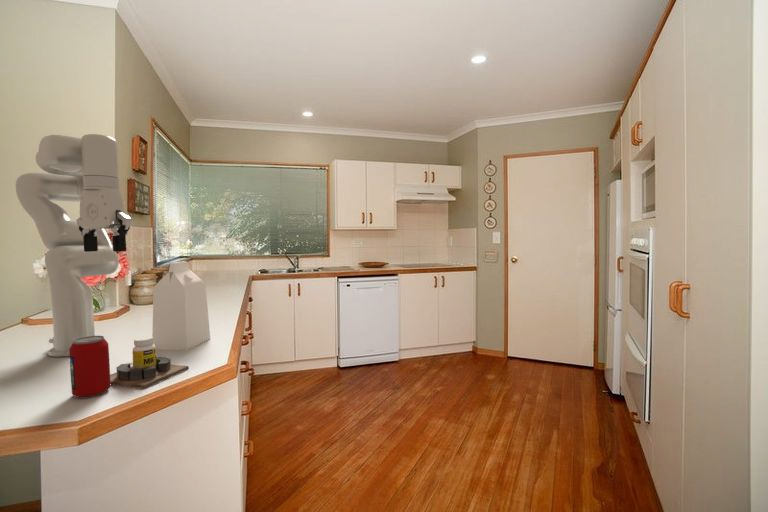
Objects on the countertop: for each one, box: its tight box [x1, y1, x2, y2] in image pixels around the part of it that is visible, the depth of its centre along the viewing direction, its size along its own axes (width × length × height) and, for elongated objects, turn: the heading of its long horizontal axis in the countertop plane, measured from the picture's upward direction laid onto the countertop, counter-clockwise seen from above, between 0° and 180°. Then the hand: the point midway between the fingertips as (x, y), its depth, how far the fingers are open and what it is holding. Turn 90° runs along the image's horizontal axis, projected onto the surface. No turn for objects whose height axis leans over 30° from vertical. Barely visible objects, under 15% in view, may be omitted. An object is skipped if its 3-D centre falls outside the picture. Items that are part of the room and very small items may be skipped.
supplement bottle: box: [132, 335, 157, 369], centre depth 93 cm, size 5×5×8 cm
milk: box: [151, 261, 211, 350], centre depth 121 cm, size 12×12×26 cm
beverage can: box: [69, 335, 111, 399], centre depth 83 cm, size 7×7×12 cm
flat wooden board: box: [110, 355, 190, 389], centre depth 93 cm, size 14×13×3 cm
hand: (105, 251), depth 99 cm, fingers open, 9 cm apart
